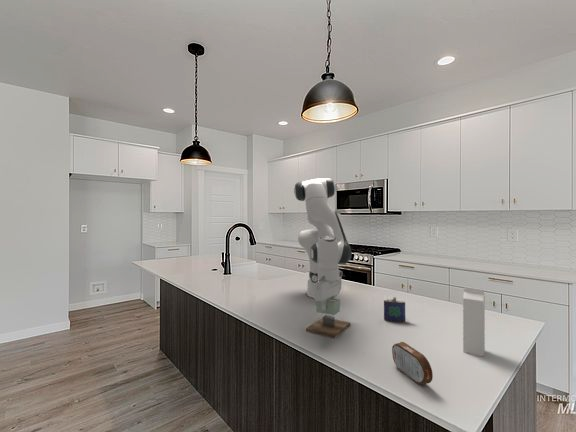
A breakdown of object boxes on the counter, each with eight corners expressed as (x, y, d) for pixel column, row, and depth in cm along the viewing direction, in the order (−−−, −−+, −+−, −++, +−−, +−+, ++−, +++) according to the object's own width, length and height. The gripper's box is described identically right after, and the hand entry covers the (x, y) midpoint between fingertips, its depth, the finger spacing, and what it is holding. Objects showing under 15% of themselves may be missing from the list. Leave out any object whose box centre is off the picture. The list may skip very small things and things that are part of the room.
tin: (433, 389, 82) (433, 359, 82) (424, 391, 81) (424, 360, 81) (398, 363, 96) (398, 337, 96) (390, 364, 95) (390, 338, 95)
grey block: (325, 325, 128) (325, 315, 128) (334, 328, 126) (334, 317, 126) (322, 327, 126) (322, 316, 126) (332, 330, 124) (332, 318, 124)
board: (323, 319, 136) (323, 316, 136) (350, 325, 129) (350, 322, 129) (305, 330, 123) (305, 327, 123) (334, 338, 116) (334, 335, 116)
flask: (405, 320, 134) (405, 297, 134) (405, 323, 131) (405, 298, 131) (383, 318, 137) (383, 295, 136) (384, 321, 134) (383, 297, 134)
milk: (465, 346, 108) (464, 285, 108) (485, 350, 105) (484, 287, 105) (463, 352, 103) (462, 289, 103) (483, 357, 100) (483, 291, 100)
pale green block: (322, 308, 130) (322, 296, 130) (339, 311, 126) (339, 298, 126) (316, 312, 125) (316, 299, 125) (334, 315, 121) (334, 302, 121)
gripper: (324, 280, 115) (324, 315, 115) (343, 271, 133) (344, 302, 133) (310, 278, 119) (310, 312, 119) (330, 270, 136) (331, 300, 136)
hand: (328, 307), depth 126 cm, fingers closed on pale green block, 6 cm apart
